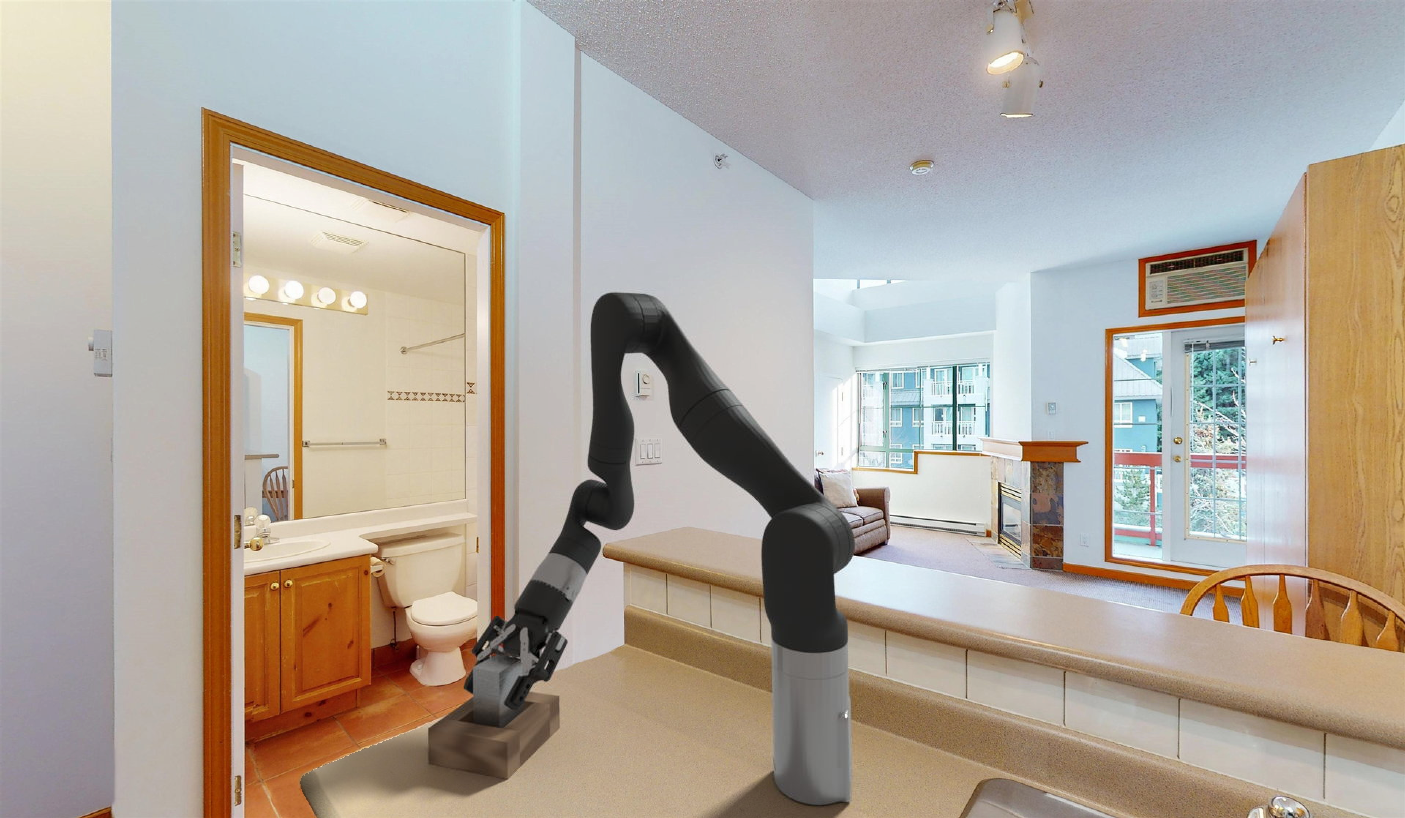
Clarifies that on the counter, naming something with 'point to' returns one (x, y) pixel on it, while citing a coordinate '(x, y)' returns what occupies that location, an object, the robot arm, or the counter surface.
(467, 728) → the well block
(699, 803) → the counter surface
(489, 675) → the grey square pillar
